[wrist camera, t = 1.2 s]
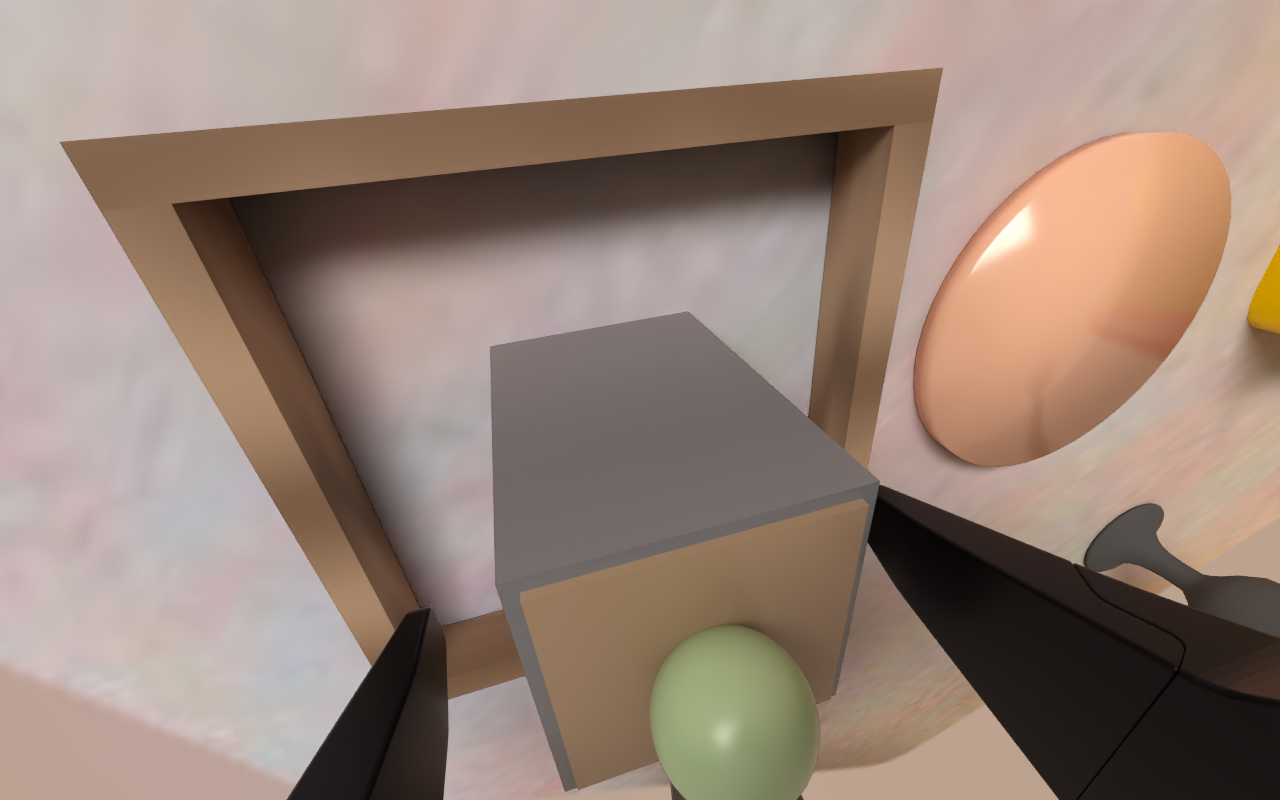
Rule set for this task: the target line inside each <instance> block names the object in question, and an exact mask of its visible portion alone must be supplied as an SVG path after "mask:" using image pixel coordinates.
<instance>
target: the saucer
mask: <svg viewBox="0 0 1280 800" xmlns="http://www.w3.org/2000/svg"><path fill="white" fill-rule="evenodd" d="M1230 218H1231V193H1230V185H1229V180H1228V177H1227V174H1226V171H1225V168H1224V165H1223V164H1222V162H1221V160H1220V159H1219V157H1218V156H1217V154H1216V153H1215V152H1214V151H1213V150H1212V149H1211V148H1210V147H1209V146H1208V145H1207V144H1206V143H1204V142H1202V141H1200V140H1198V139H1196V138H1194V137H1192V136H1190V135H1184V134H1179V133H1174V132H1138V133H1121V134H1117V135H1112V136H1107V137H1103V138H1100V139H1098V140H1095V141H1092V142H1090V143H1087V144H1084V145H1082V146H1080V147H1078V148H1076V149H1074V150H1072V151H1070V152H1069V153H1067V154H1065V155H1063V156H1061V157H1059V158H1058V159H1056V160H1055V161H1053V162H1052V163H1050V164H1049V165H1047V166H1046V167H1044V168H1043V169H1041V170H1040V171H1038V172H1037V173H1036V174H1034V175H1033V176H1032V177H1031V178H1030V179H1028V180H1027V181H1026V182H1025V183H1024V184H1022V185H1021V186H1020V187H1019V188H1018V189H1016V190H1015V191H1014V192H1013V193H1012V194H1011V195H1010V196H1009V197H1008V198H1007V199H1006V200H1005V201H1004V202H1003V203H1002V204H1001V205H1000V206H999V207H998V208H997V209H996V210H995V211H994V212H993V213H992V214H991V215H990V217H989V218H988V219H987V220H986V221H985V222H984V224H983V225H982V226H981V227H980V228H979V229H978V231H977V232H976V233H975V234H974V236H973V237H972V238H971V240H970V241H969V243H968V244H967V245H966V247H965V248H964V250H963V251H962V252H961V254H960V255H959V256H958V258H957V260H956V261H955V263H954V265H953V266H952V268H951V270H950V271H949V273H948V275H947V276H946V278H945V280H944V281H943V283H942V285H941V287H940V289H939V292H938V294H937V296H936V298H935V300H934V302H933V304H932V306H931V309H930V311H929V314H928V317H927V319H926V322H925V324H924V327H923V331H922V334H921V338H920V342H919V345H918V349H917V355H916V362H915V368H914V393H915V402H916V406H917V410H918V413H919V416H920V419H921V421H922V423H923V425H924V427H925V428H926V430H927V431H928V432H929V434H930V435H931V436H932V437H933V439H934V440H936V441H937V442H938V443H940V444H941V445H942V446H944V447H945V448H946V449H948V450H949V451H951V452H952V453H954V454H955V455H957V456H958V457H960V458H961V459H964V460H966V461H968V462H970V463H973V464H977V465H982V466H993V467H1000V466H1011V465H1016V464H1020V463H1025V462H1028V461H1031V460H1034V459H1037V458H1040V457H1043V456H1045V455H1047V454H1050V453H1052V452H1054V451H1056V450H1059V449H1060V448H1062V447H1064V446H1066V445H1068V444H1070V443H1071V442H1073V441H1075V440H1076V439H1078V438H1080V437H1081V436H1083V435H1084V434H1086V433H1087V432H1089V431H1090V430H1092V429H1093V428H1094V427H1096V426H1097V425H1098V424H1100V423H1101V422H1103V421H1104V420H1105V419H1107V418H1108V417H1109V416H1110V415H1111V414H1112V413H1114V412H1115V411H1116V410H1117V409H1118V408H1120V407H1121V406H1122V405H1123V404H1124V403H1125V402H1126V401H1127V400H1128V399H1129V398H1130V397H1131V396H1132V395H1133V394H1135V393H1136V392H1137V391H1138V390H1139V389H1140V388H1141V386H1142V385H1143V384H1144V383H1145V382H1146V381H1147V380H1148V379H1149V378H1150V377H1151V376H1152V375H1153V374H1154V372H1155V371H1156V370H1157V369H1158V368H1159V366H1160V365H1161V364H1162V363H1163V361H1164V360H1165V359H1166V358H1167V357H1168V355H1169V354H1170V353H1171V351H1172V350H1173V348H1174V347H1175V346H1176V344H1177V343H1178V342H1179V340H1180V339H1181V338H1182V336H1183V334H1184V333H1185V331H1186V330H1187V328H1188V327H1189V325H1190V323H1191V322H1192V320H1193V319H1194V317H1195V315H1196V313H1197V312H1198V310H1199V308H1200V306H1201V304H1202V303H1203V301H1204V299H1205V297H1206V295H1207V293H1208V290H1209V288H1210V286H1211V284H1212V282H1213V280H1214V277H1215V275H1216V272H1217V269H1218V267H1219V264H1220V261H1221V259H1222V255H1223V252H1224V248H1225V244H1226V241H1227V236H1228V230H1229V224H1230Z"/></svg>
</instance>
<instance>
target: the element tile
mask: <svg viewBox="0 0 1280 800" xmlns="http://www.w3.org/2000/svg"><path fill="white" fill-rule="evenodd" d="M1247 318H1248V321H1249V324H1250V326H1252V327H1255V328H1258V329H1262V330H1266V331H1270V332H1274V333H1278V334H1280V245H1279V247H1278V249H1277V251H1276V253H1275V255H1274V257H1273V259H1272V261H1271V263H1270V264H1269V266H1268V268H1267V270H1266V272H1265V274H1264V276H1263V278H1262V280H1261V282H1260V284H1259V286H1258V287H1257V289H1256V292H1255V294H1254V296H1253V299H1252V301H1251V303H1250V308H1249V312H1248V317H1247Z"/></svg>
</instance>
